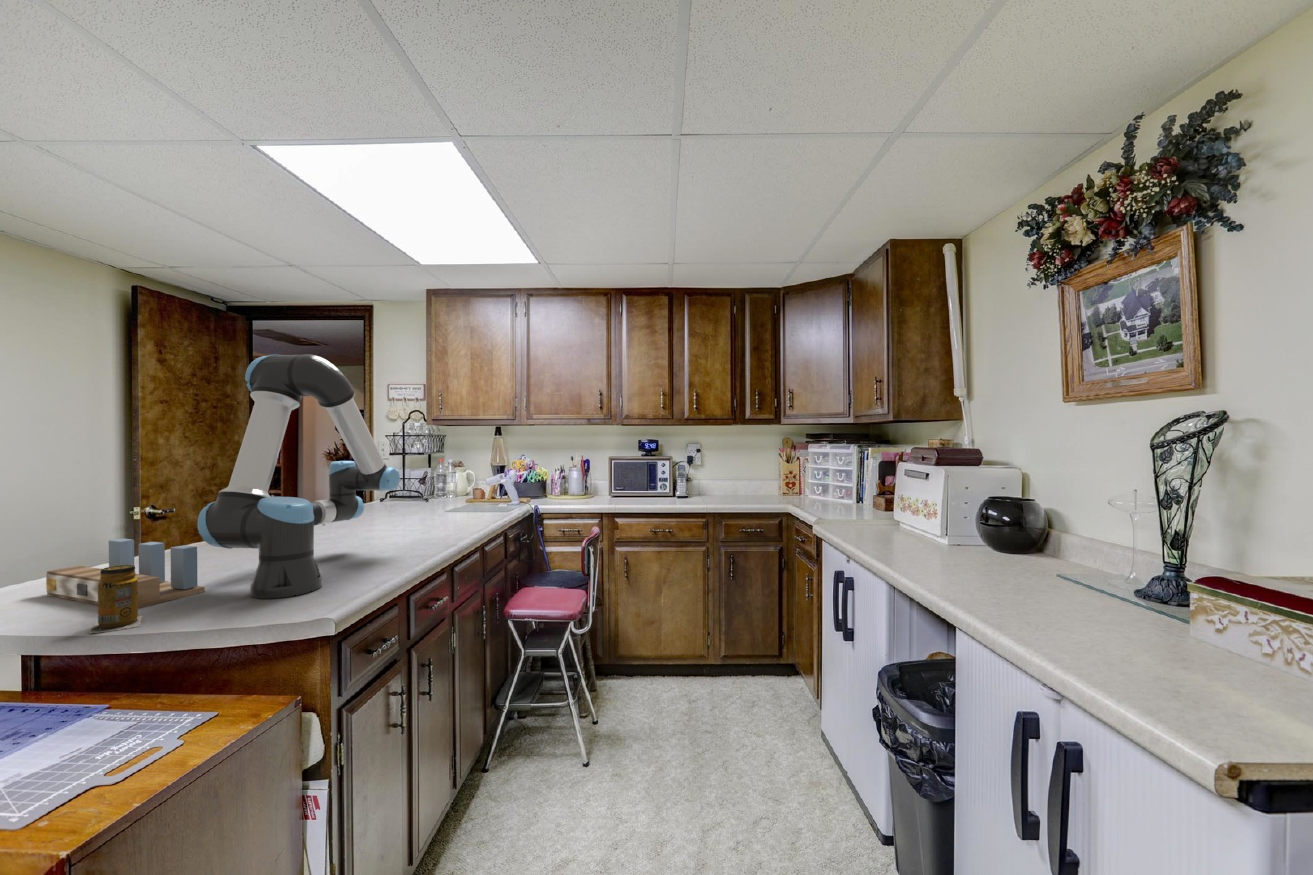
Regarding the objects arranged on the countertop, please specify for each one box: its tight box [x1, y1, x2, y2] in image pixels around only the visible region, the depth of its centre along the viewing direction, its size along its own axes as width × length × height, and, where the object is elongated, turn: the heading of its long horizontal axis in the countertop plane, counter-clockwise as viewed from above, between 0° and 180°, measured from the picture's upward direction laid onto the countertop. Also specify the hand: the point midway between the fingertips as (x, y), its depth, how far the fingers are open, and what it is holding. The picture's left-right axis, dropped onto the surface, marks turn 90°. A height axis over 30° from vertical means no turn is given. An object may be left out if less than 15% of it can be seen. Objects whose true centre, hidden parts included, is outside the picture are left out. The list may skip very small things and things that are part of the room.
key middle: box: [138, 541, 166, 582], centre depth 142 cm, size 5×3×10 cm, turn 70°
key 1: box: [108, 538, 135, 567], centre depth 147 cm, size 5×3×10 cm, turn 70°
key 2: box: [170, 544, 199, 590], centre depth 138 cm, size 5×3×10 cm, turn 70°
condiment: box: [88, 565, 143, 634], centre depth 115 cm, size 7×8×12 cm
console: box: [45, 565, 206, 609], centre depth 137 cm, size 33×16×6 cm, turn 70°
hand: (234, 525), depth 149 cm, fingers closed
